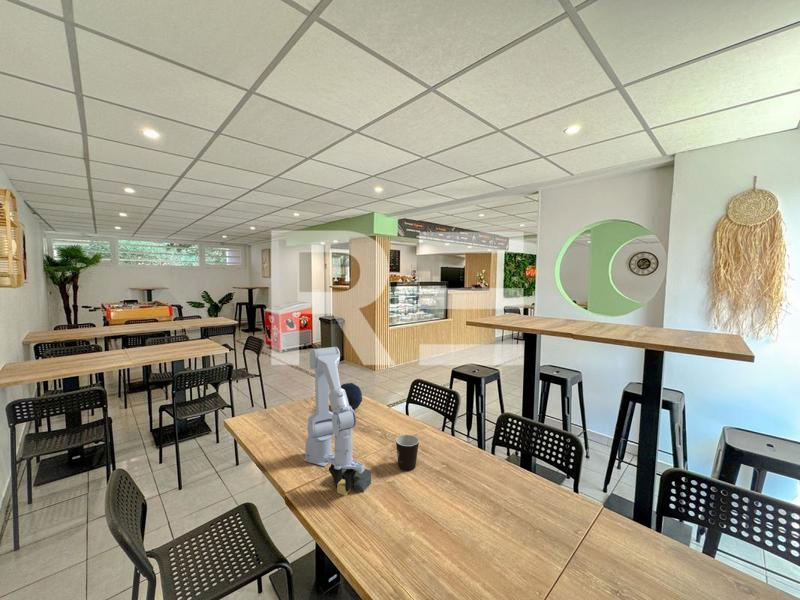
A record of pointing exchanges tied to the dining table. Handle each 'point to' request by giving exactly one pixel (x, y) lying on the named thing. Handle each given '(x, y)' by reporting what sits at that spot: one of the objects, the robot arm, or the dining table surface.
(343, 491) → the plug
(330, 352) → the robot arm
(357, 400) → the decorative orb
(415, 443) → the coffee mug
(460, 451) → the dining table surface
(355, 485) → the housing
